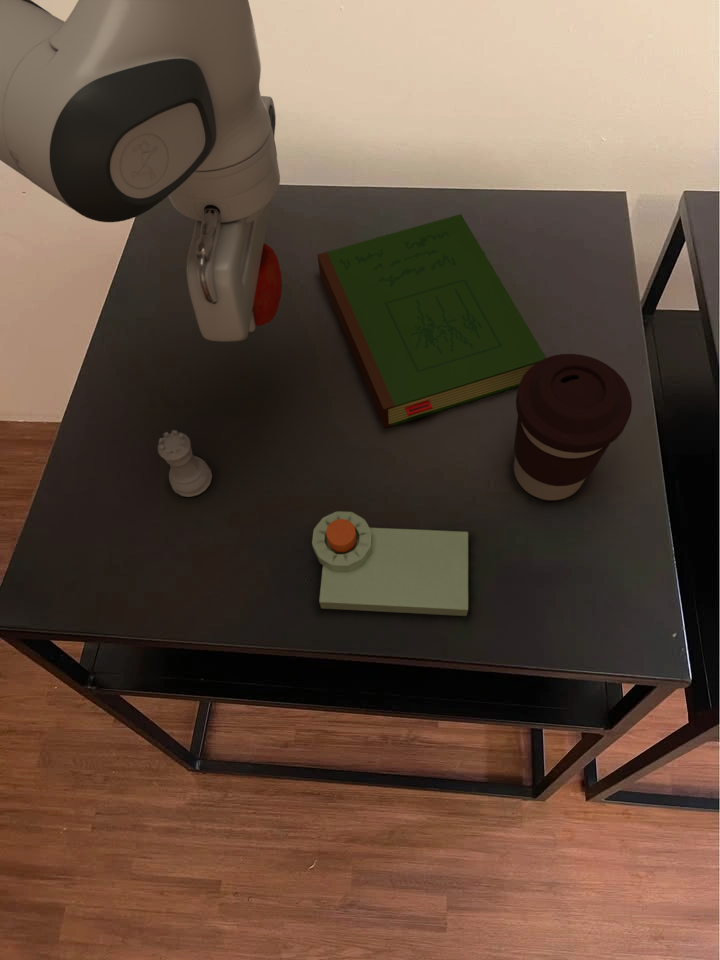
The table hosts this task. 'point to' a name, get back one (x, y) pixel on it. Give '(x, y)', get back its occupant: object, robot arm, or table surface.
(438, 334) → the hardcover book
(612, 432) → the coffee cup
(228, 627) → the table surface
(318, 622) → the table surface
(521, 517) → the table surface
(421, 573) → the scale
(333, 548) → the button
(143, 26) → the robot arm
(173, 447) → the rook chess piece
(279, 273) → the apple
